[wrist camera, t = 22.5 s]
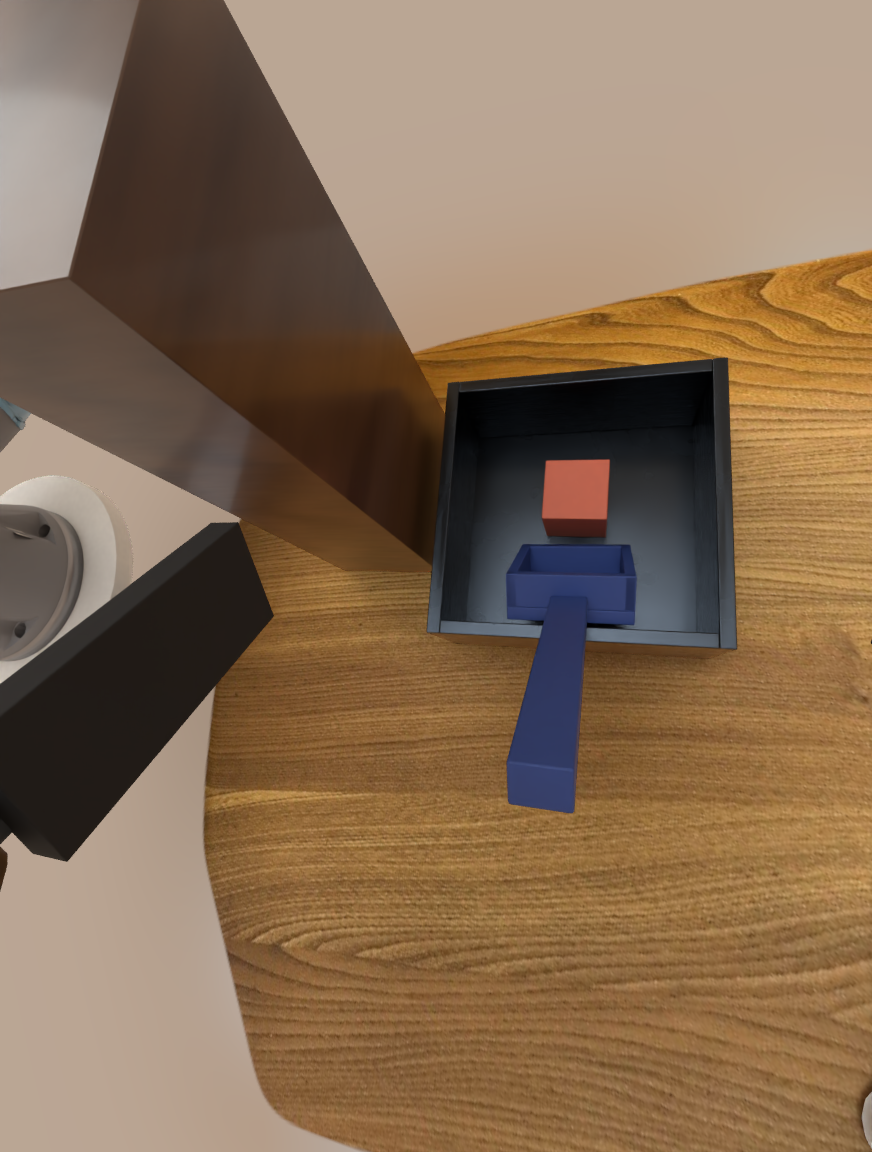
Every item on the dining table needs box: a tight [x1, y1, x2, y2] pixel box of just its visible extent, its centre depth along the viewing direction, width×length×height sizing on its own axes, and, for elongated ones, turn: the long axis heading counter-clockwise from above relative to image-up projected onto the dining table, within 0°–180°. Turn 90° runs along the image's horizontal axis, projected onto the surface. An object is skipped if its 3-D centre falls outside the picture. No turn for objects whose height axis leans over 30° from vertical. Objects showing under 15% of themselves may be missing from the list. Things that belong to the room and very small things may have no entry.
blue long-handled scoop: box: [506, 544, 637, 813], centre depth 26 cm, size 7×22×3 cm
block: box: [542, 459, 610, 537], centre depth 35 cm, size 4×4×4 cm
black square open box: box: [427, 358, 737, 659], centre depth 34 cm, size 17×17×7 cm
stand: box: [0, 0, 445, 572], centre depth 28 cm, size 8×12×30 cm, turn 175°
